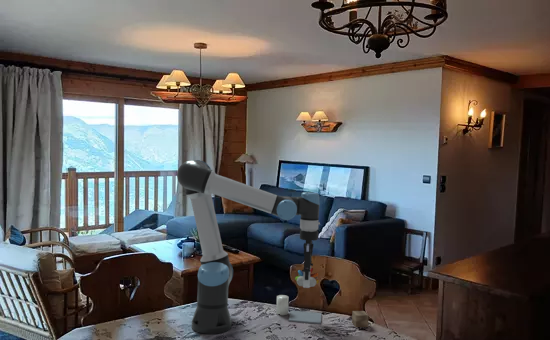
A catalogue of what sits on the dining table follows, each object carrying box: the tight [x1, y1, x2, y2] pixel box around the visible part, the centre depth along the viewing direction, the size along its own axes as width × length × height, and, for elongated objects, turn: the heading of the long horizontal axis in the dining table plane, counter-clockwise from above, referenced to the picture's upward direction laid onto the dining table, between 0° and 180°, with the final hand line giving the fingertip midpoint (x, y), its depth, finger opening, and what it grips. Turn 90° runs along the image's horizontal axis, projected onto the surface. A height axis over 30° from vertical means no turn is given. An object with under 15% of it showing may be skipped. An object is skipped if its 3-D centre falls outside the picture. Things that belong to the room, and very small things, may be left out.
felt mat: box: [288, 310, 323, 325], centre depth 181 cm, size 13×11×1 cm
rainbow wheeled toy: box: [294, 267, 320, 288], centre depth 181 cm, size 8×10×7 cm
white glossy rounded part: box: [276, 294, 289, 316], centre depth 185 cm, size 5×5×7 cm
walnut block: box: [351, 310, 369, 328], centre depth 175 cm, size 5×5×5 cm
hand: (306, 284), depth 181 cm, fingers closed on rainbow wheeled toy, 8 cm apart
